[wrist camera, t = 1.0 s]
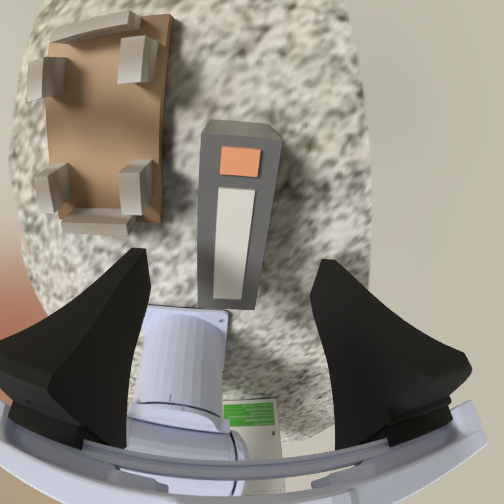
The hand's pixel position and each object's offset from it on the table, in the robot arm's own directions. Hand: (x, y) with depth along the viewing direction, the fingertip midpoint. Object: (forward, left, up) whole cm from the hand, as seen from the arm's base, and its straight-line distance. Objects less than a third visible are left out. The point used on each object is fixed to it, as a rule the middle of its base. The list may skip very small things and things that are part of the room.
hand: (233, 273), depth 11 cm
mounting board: (+5, +9, -8) cm, 12 cm away
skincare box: (-32, -4, -8) cm, 33 cm away
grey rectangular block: (0, 0, -8) cm, 8 cm away
